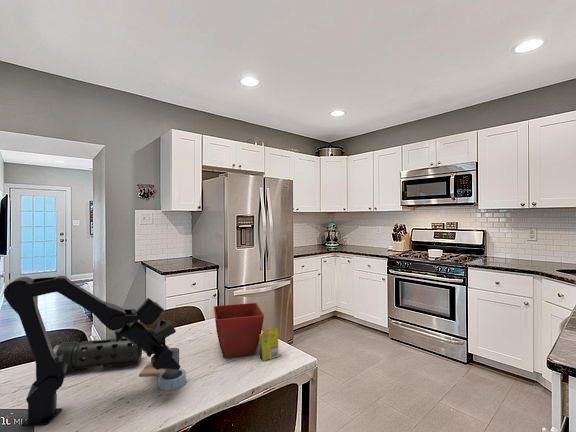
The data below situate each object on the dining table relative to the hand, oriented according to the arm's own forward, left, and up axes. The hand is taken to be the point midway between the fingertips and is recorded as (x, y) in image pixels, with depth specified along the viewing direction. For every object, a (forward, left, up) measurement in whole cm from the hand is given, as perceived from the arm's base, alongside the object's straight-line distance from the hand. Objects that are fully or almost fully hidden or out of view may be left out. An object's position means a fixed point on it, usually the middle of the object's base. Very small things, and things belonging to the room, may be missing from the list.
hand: (176, 362), depth 103 cm
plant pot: (+24, -18, -7) cm, 31 cm away
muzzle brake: (+13, +32, -7) cm, 35 cm away
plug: (-1, +1, -7) cm, 7 cm away
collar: (-1, +1, -7) cm, 7 cm away
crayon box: (+16, -31, -7) cm, 36 cm away
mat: (+9, +10, -7) cm, 15 cm away
